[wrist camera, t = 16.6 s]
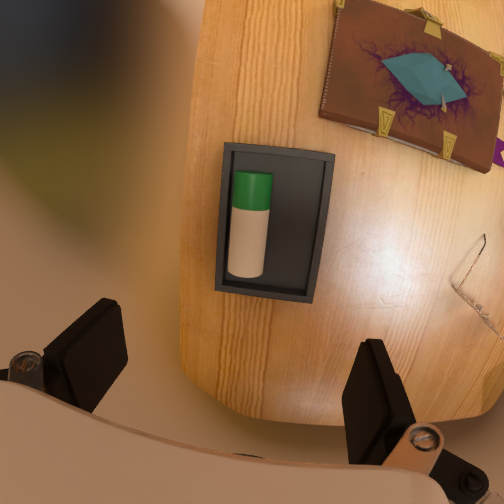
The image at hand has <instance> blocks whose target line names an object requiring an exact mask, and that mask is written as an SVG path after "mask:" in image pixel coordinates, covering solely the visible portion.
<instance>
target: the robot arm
mask: <svg viewBox="0 0 504 504" xmlns="http://www.w3.org/2000/svg"><path fill="white" fill-rule="evenodd" d="M43 351H44V355H43V356H42V357H41V356H40V354H38V353H36V352H33V351H24V352H21V353H19V354H17V355H15V356H14V357H13V358H12V359H11V361H10V364H9V368H8V369H2V370H0V504H504V499H503V498H502V497H501V496H500V495H498V493H497V492H496V491H494V490H493V491H492V492H490V491H489V490H488V487H489V480H488V478H487V475H486V474H485V473H484V472H483V471H482V470H481V469H479V468H477V467H476V466H474V465H472V464H470V463H468V462H466V461H464V460H463V459H461V458H459V457H457V456H456V455H454V454H452V453H450V452H448V451H447V450H445V449H443V446H444V437H443V435H442V432H441V431H440V430H439V429H438V428H437V427H435V426H434V425H431V424H429V423H423V422H420V423H417V422H416V420H415V417H414V414H413V411H412V408H411V405H410V402H409V400H408V397H407V394H406V392H405V389H404V386H403V384H402V381H401V378H400V376H399V375H398V374H395V371H394V368H393V366H392V363H391V361H390V358H389V355H388V353H387V350H386V348H385V345H384V343H383V341H382V340H381V339H369V338H368V339H366V341H365V342H361V344H360V346H359V349H358V352H357V355H356V358H355V361H354V364H353V367H352V370H351V372H350V375H349V378H348V381H347V383H346V386H345V389H344V391H343V394H342V407H343V415H344V423H345V431H346V440H347V449H348V459H349V464H322V463H306V462H293V461H292V462H291V461H282V460H272V459H264V458H256V457H249V456H243V455H237V454H230V453H225V452H220V451H215V450H210V449H205V448H200V447H196V446H192V445H187V444H184V443H180V442H176V441H172V440H168V439H164V438H161V437H158V436H154V435H151V434H148V433H145V432H141V431H138V430H135V429H132V428H129V427H126V426H123V425H121V424H117V423H115V422H112V421H110V420H107V419H104V418H102V417H99V416H96V415H94V414H92V412H93V411H94V409H95V408H96V406H97V405H98V403H99V402H100V400H101V399H102V398H103V396H104V395H105V393H106V392H107V390H108V389H109V388H110V387H111V385H112V384H113V383H114V381H115V379H116V378H117V377H118V376H119V374H120V373H121V372H122V370H123V369H124V367H125V366H126V364H127V361H128V355H127V349H126V343H125V336H124V329H123V322H122V314H121V307H120V305H118V304H117V301H115V300H111V299H107V298H102V299H100V300H99V301H98V302H97V303H96V304H94V305H93V306H92V307H91V308H90V309H88V310H87V311H86V312H85V313H84V314H83V315H82V316H80V317H79V318H78V319H77V320H76V321H75V322H74V323H72V324H71V325H70V326H69V327H68V328H67V329H66V330H65V331H63V332H62V333H61V334H60V335H59V336H58V337H57V338H56V339H55V340H53V341H52V342H51V343H50V344H49V345H48V346H47V347H46V348H45V349H43Z"/></svg>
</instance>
